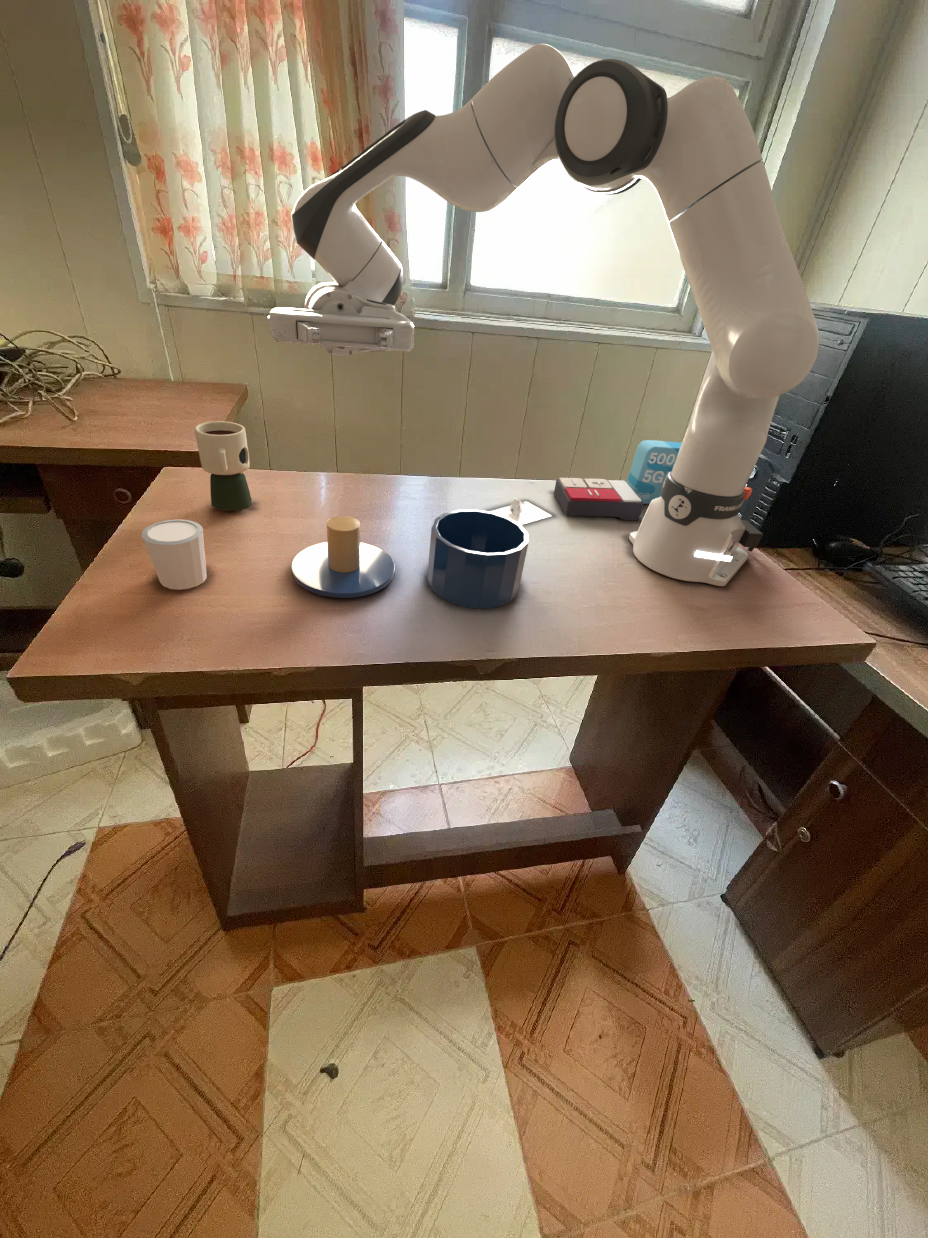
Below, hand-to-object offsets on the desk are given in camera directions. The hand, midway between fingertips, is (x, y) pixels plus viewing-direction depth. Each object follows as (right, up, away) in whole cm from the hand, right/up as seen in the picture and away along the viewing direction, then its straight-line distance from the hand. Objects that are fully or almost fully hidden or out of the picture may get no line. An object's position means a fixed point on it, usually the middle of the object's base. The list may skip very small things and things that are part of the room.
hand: (350, 339), depth 70 cm
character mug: (-23, -19, +17) cm, 35 cm away
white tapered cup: (-22, -32, -1) cm, 39 cm away
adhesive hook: (+26, -18, +29) cm, 43 cm away
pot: (+17, -32, +7) cm, 37 cm away
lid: (-2, -30, +5) cm, 31 cm away
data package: (+56, -12, +42) cm, 71 cm away
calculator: (+42, -15, +36) cm, 57 cm away
